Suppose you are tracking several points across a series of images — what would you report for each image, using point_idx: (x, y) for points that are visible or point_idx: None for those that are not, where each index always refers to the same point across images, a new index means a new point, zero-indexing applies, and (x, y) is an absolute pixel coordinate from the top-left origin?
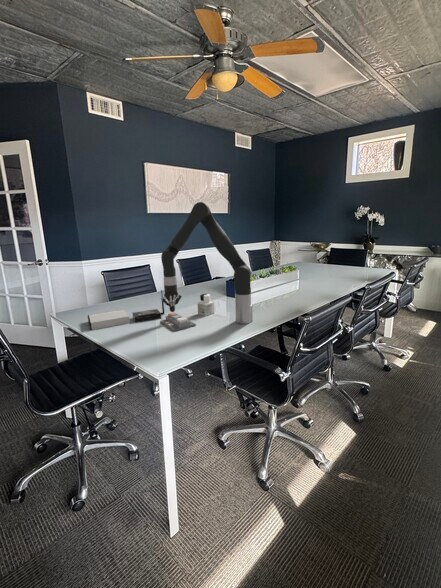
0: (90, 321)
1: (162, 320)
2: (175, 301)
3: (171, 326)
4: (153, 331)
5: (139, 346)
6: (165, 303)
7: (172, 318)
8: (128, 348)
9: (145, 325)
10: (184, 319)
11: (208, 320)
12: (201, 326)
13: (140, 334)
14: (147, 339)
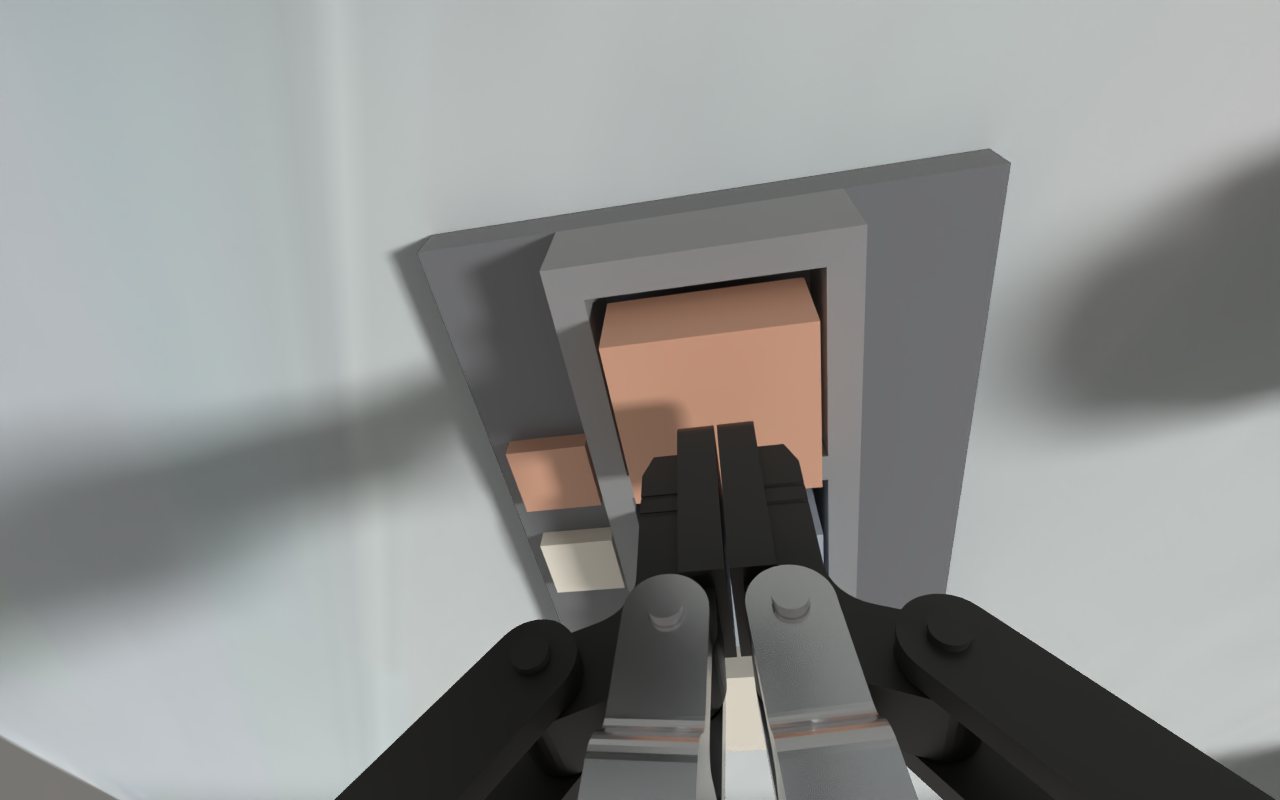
0: None
1: (471, 256)
2: (983, 709)
3: (580, 597)
4: (318, 550)
5: (221, 759)
6: (449, 730)
7: None
8: (127, 753)
9: (110, 240)
10: None
11: (1259, 549)
12: None
13: (145, 561)
14: (272, 691)
